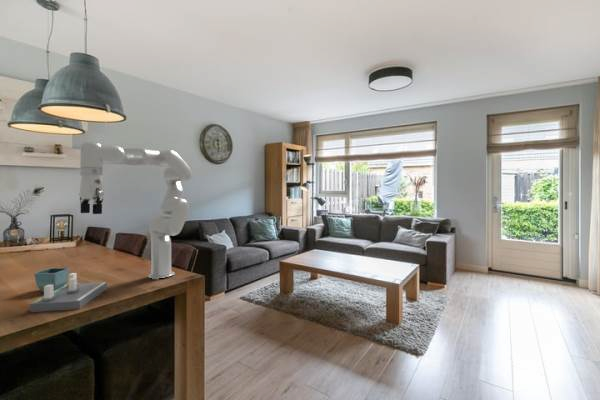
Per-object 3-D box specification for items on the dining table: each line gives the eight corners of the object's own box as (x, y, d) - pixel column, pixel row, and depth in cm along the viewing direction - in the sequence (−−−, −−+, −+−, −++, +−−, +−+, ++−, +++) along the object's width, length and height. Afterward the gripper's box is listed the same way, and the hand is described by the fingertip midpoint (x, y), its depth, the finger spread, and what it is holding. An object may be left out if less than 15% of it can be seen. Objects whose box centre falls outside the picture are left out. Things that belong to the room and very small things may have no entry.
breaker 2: (71, 284, 126) (71, 272, 126) (79, 284, 126) (78, 272, 126) (66, 287, 122) (66, 275, 122) (74, 286, 123) (74, 274, 123)
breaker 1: (47, 297, 110) (47, 284, 110) (56, 297, 111) (56, 283, 111) (41, 301, 107) (41, 287, 106) (50, 300, 107) (50, 286, 107)
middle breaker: (71, 290, 119) (71, 277, 119) (79, 289, 119) (79, 277, 119) (66, 293, 115) (65, 280, 115) (74, 292, 116) (74, 279, 116)
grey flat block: (67, 290, 127) (67, 283, 127) (107, 288, 130) (107, 281, 130) (30, 312, 105) (30, 303, 104) (79, 308, 108) (79, 300, 108)
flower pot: (70, 286, 133) (70, 267, 132) (54, 293, 124) (54, 273, 124) (51, 287, 132) (50, 267, 132) (33, 293, 123) (33, 273, 123)
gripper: (112, 172, 117) (112, 213, 118) (91, 173, 126) (90, 212, 126) (92, 171, 111) (91, 214, 111) (70, 172, 119) (70, 213, 119)
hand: (91, 213), depth 118 cm, fingers open, 9 cm apart
